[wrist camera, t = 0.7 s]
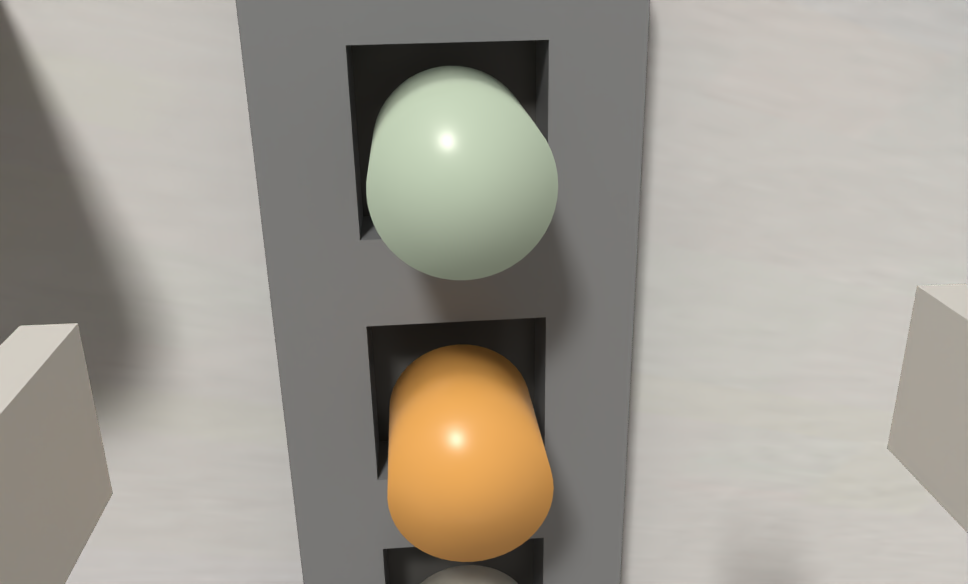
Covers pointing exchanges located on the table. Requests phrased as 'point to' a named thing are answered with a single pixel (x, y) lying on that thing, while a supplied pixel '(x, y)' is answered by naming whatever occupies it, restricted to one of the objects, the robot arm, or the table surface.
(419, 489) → the key orange
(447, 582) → the key ivory
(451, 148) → the light green piece
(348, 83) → the panel
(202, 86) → the table surface
